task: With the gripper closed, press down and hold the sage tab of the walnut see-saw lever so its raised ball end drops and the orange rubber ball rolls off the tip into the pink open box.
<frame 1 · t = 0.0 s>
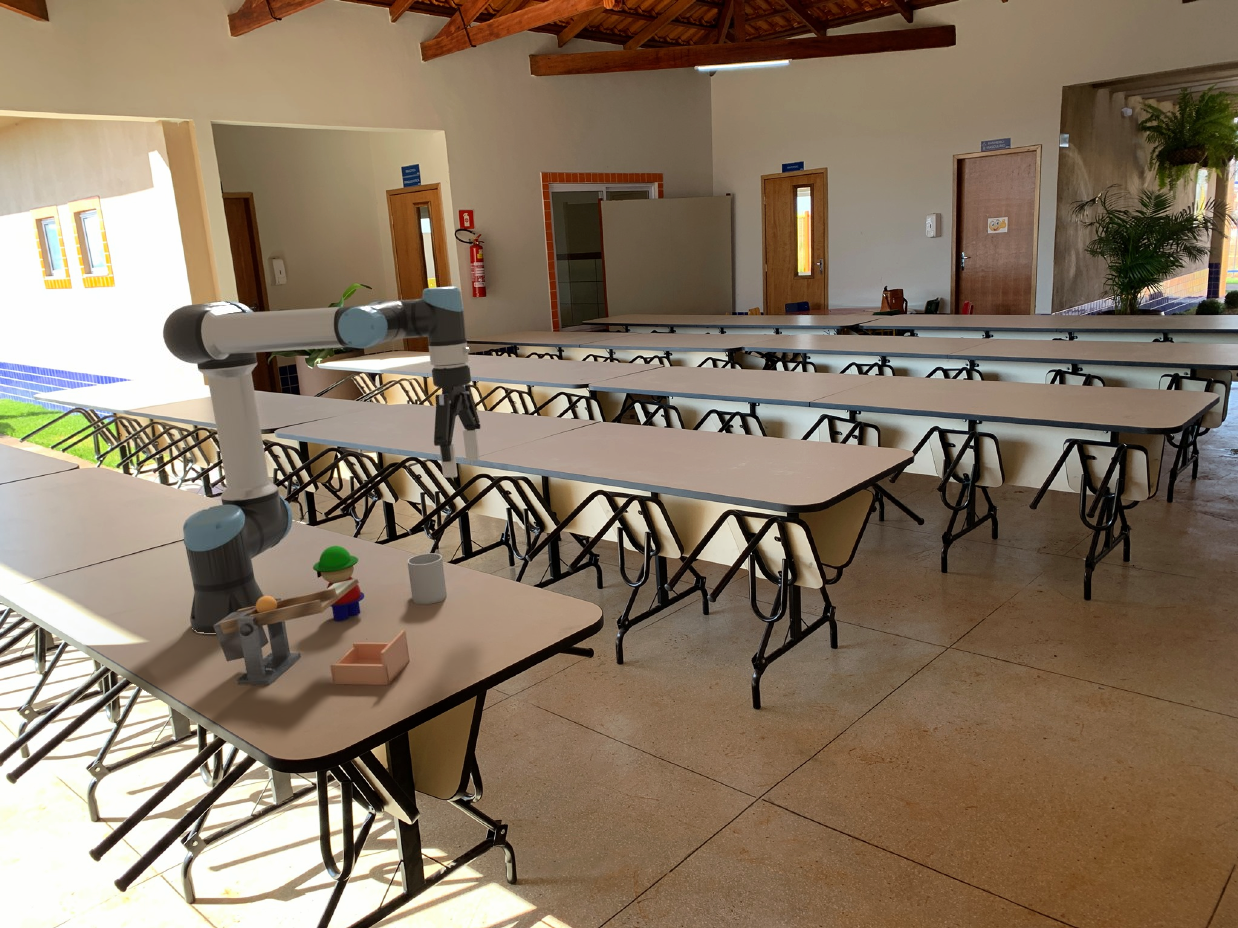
hand: (462, 468, 186), 28 cm above the table, fingers open, 13 cm apart
ball: (266, 605, 161), point 13 cm above the table, tilted 15°, touching lever
bracket: (270, 670, 164), on the table
cup: (426, 597, 195), on the table
toy: (344, 616, 188), on the table
lever: (291, 615, 165), point 9 cm above the table, hinge at -12.0°, touching ball
pink open box: (372, 671, 160), on the table
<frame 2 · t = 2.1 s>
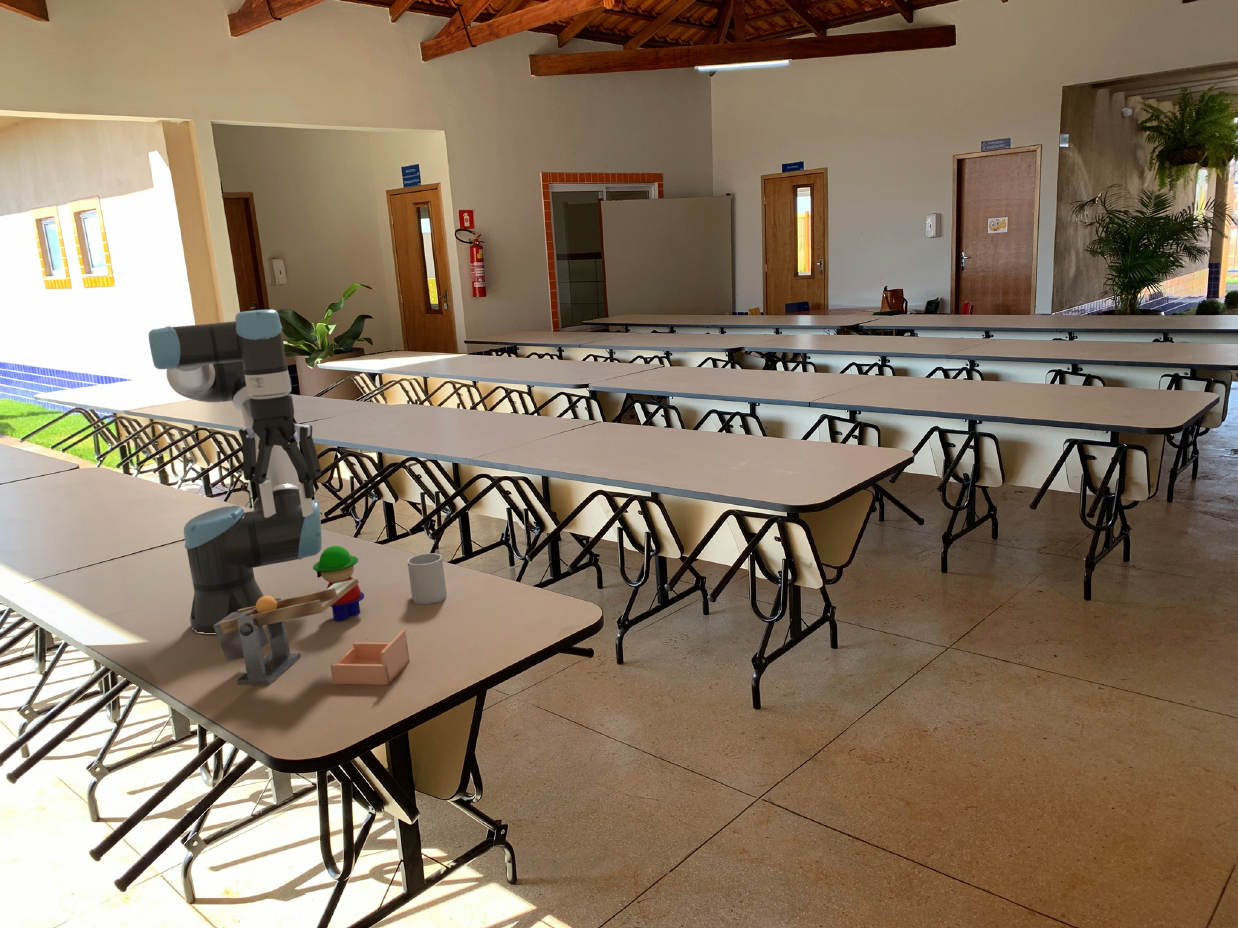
hand: (289, 514, 172), 25 cm above the table, fingers open, 7 cm apart
nothing on the table moved.
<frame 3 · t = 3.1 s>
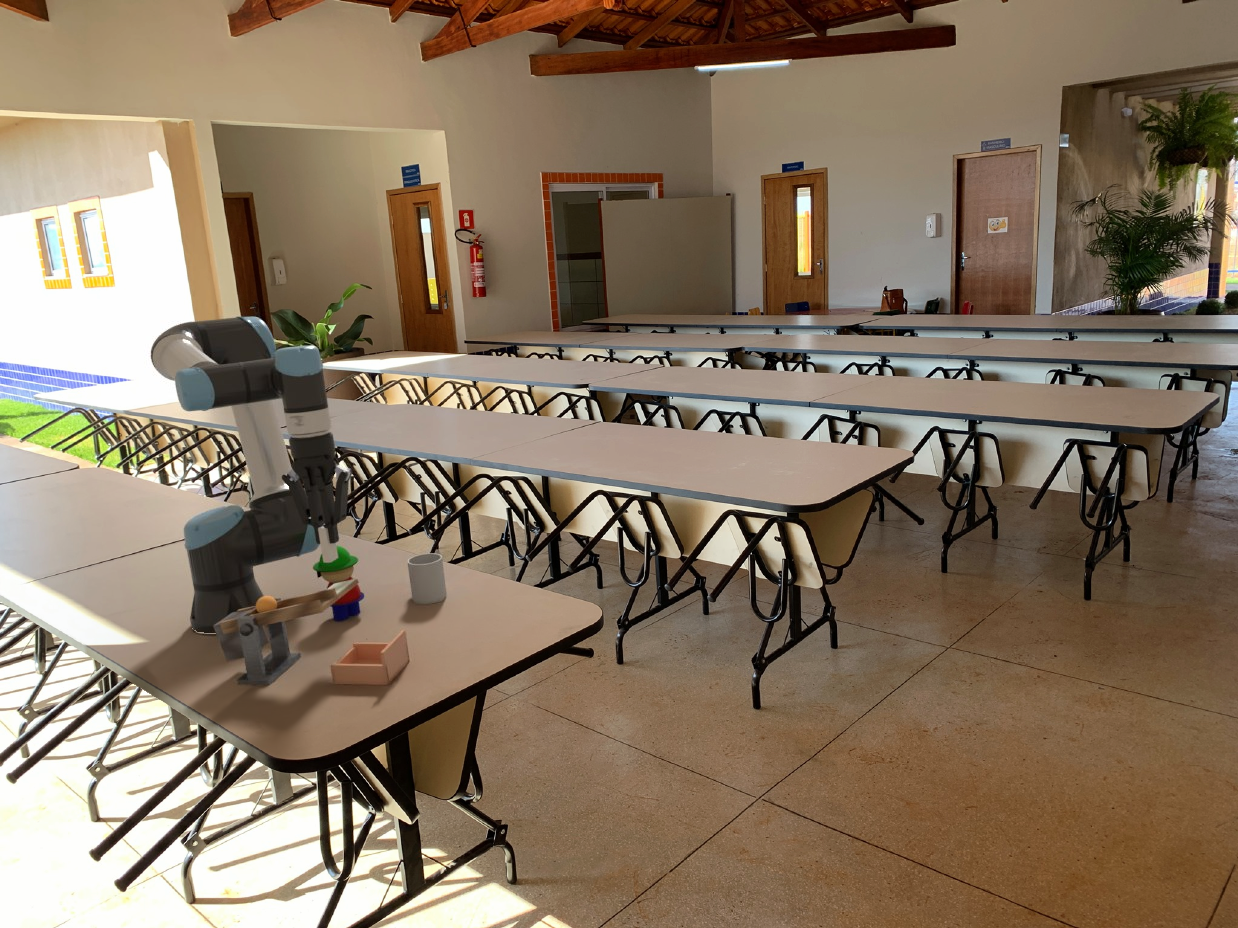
hand: (330, 560, 166), 18 cm above the table, fingers closed
nothing on the table moved.
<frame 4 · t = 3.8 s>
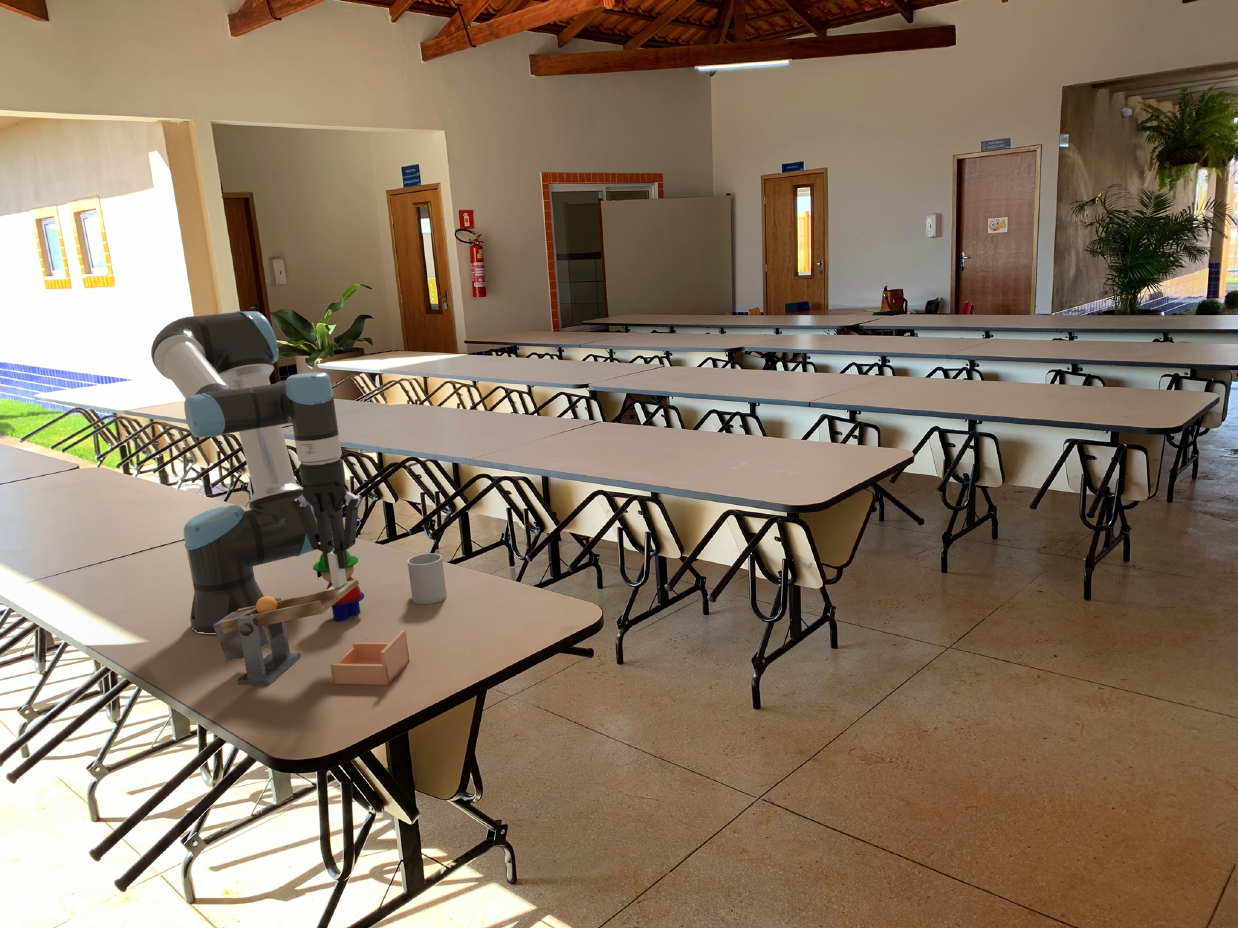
hand: (339, 584, 167), 13 cm above the table, fingers closed
lever: (291, 615, 165), point 9 cm above the table, hinge at -11.2°, touching ball, gripper
everything else where it was.
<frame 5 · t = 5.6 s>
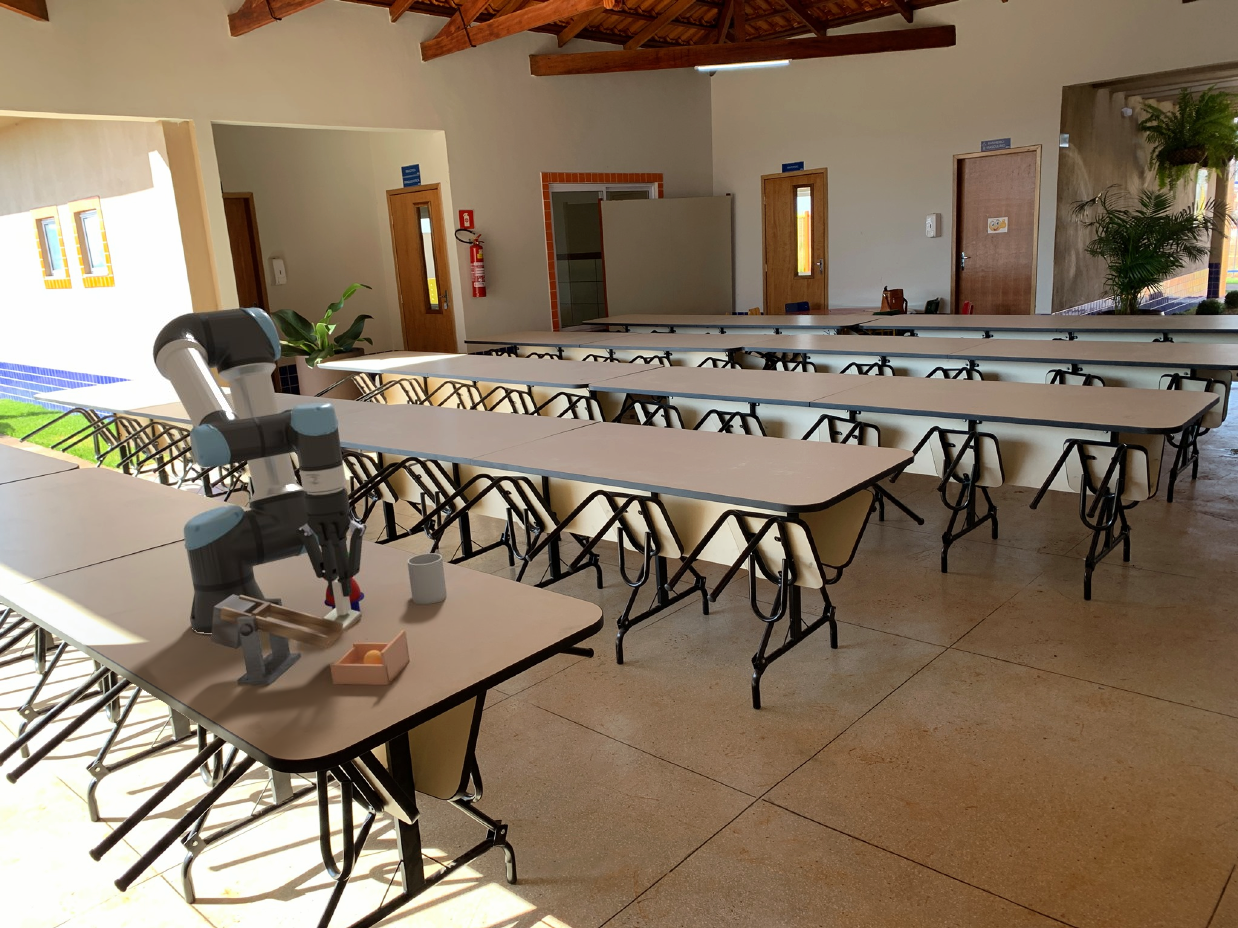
hand: (344, 612, 168), 8 cm above the table, fingers closed
ball: (373, 660, 160), point 2 cm above the table, tilted 76°, touching pink open box
lever: (288, 623, 166), point 8 cm above the table, hinge at 16.0°, touching gripper
everything else where it was.
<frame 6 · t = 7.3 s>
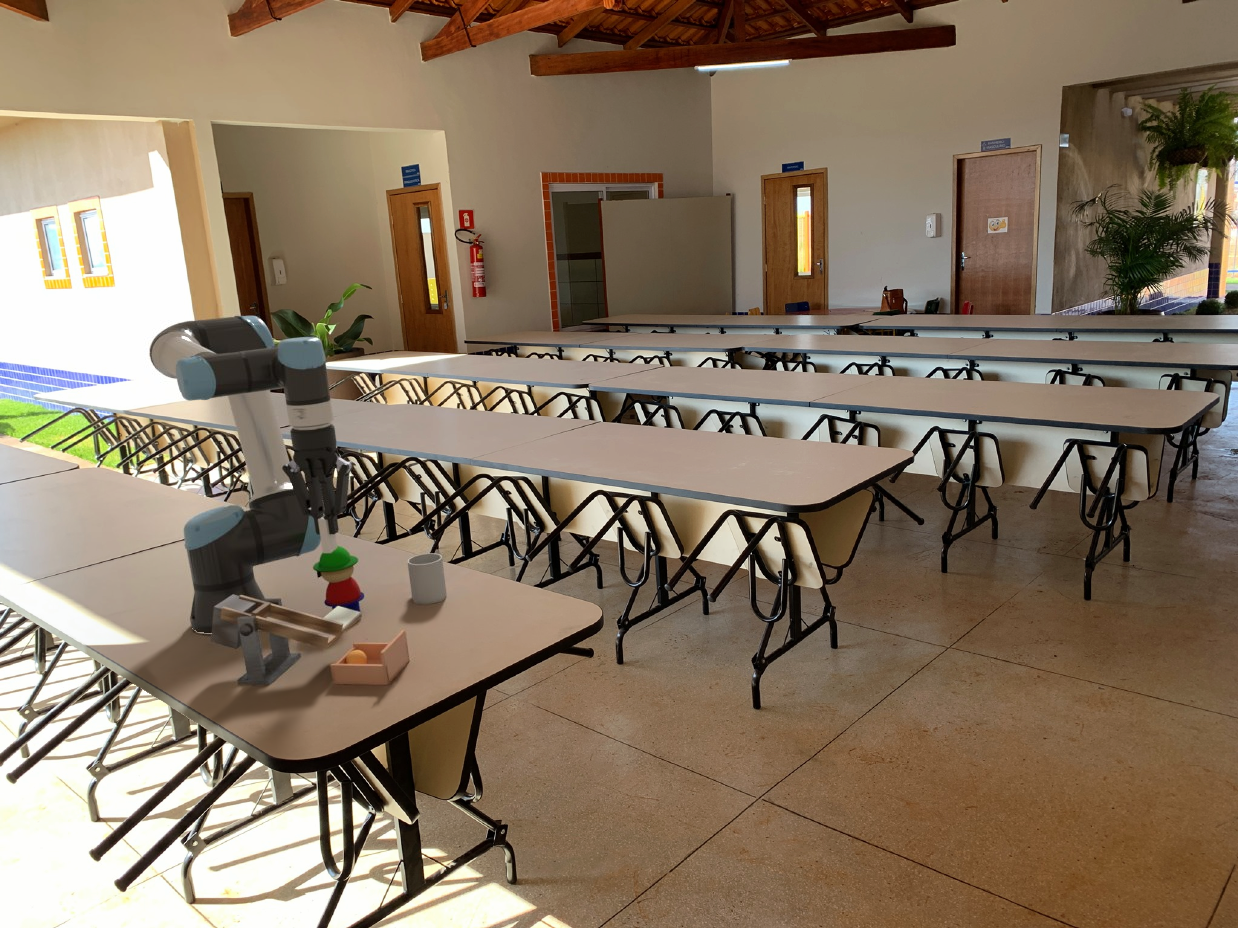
hand: (330, 550, 167), 19 cm above the table, fingers closed
ball: (356, 660, 160), point 2 cm above the table, tilted 178°, touching pink open box
lever: (288, 623, 166), point 8 cm above the table, hinge at 16.0°
everything else where it was.
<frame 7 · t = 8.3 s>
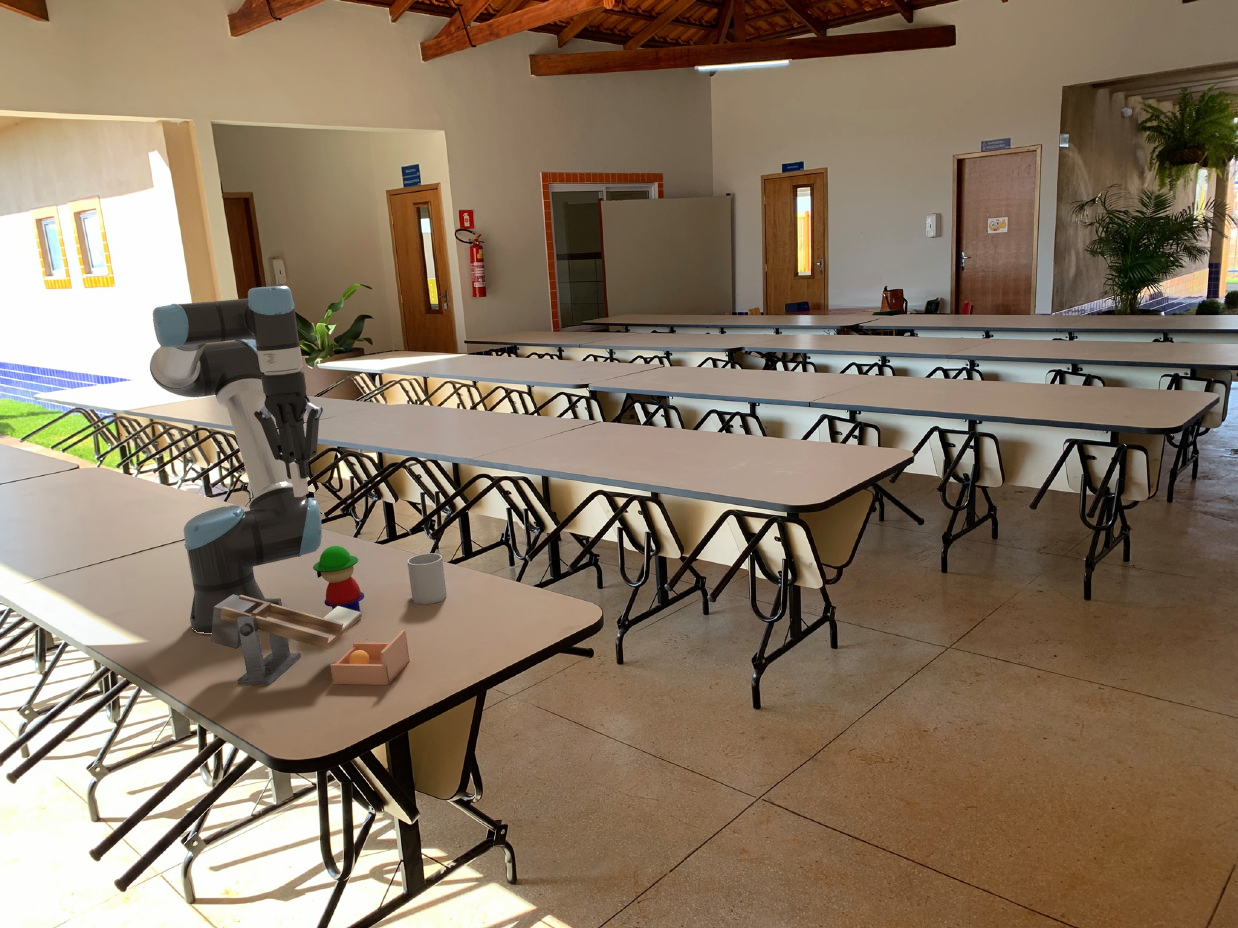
hand: (301, 494, 172), 28 cm above the table, fingers closed
ball: (359, 660, 160), point 2 cm above the table, tilted 165°, touching pink open box
everything else where it was.
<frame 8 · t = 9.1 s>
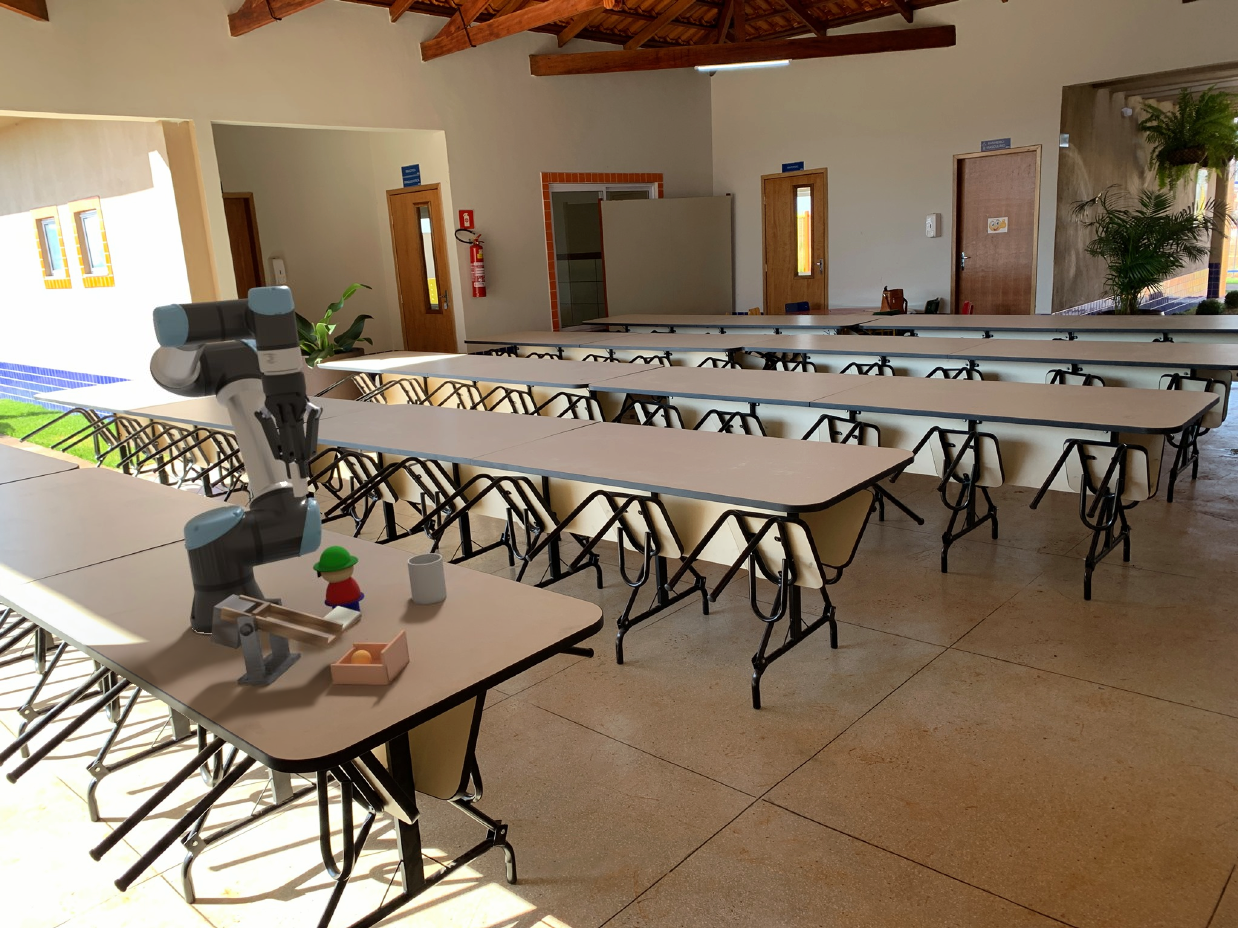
hand: (301, 494, 172), 28 cm above the table, fingers closed
ball: (361, 660, 160), point 2 cm above the table, tilted 152°, touching pink open box
everything else where it was.
at the end: ball inside the target area on the pink open box (1.6 cm from its centre), point 2.2 cm above the pink open box's base; ball touching pink open box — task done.
